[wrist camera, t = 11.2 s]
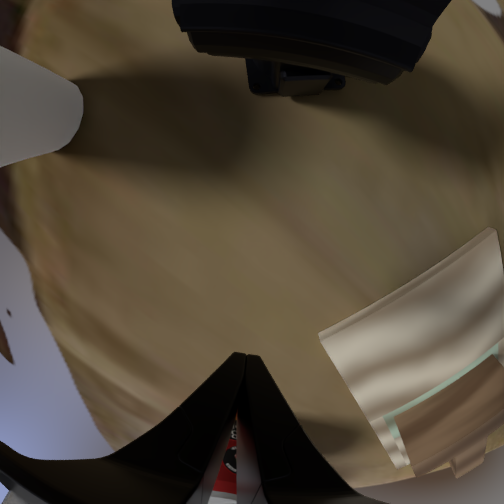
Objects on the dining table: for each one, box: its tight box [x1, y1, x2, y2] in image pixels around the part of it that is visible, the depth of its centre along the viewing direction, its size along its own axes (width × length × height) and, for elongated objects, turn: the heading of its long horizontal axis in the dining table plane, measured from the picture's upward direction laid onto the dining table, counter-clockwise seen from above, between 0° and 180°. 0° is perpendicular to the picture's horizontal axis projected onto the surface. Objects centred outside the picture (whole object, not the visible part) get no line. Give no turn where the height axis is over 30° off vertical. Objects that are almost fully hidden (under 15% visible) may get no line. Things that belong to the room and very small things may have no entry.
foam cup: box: [0, 46, 83, 167], centre depth 12 cm, size 10×9×13 cm
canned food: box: [208, 410, 238, 504], centre depth 22 cm, size 8×8×11 cm
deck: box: [318, 227, 504, 469], centre depth 23 cm, size 29×18×1 cm, turn 32°
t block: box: [394, 354, 504, 479], centre depth 21 cm, size 13×13×7 cm
